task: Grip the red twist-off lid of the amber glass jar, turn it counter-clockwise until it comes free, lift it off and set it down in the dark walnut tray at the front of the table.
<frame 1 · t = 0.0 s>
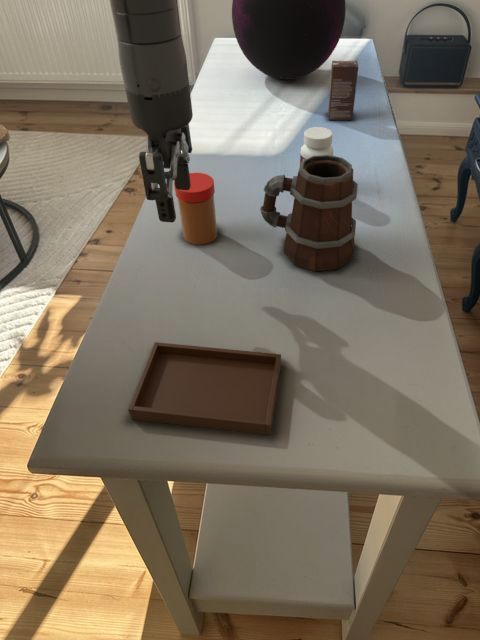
hand: (176, 204, 68), 13 cm above the table, tool pointing down, fingers open, 8 cm apart
box: (339, 117, 120), on the table
dark purple ball: (286, 77, 139), on the table
mug: (306, 250, 82), on the table
tray: (209, 390, 62), on the table
jar: (200, 234, 86), on the table
lid: (194, 184, 78), point 10 cm above the table, screwed on, not yet turned
pill bottle: (313, 190, 96), on the table
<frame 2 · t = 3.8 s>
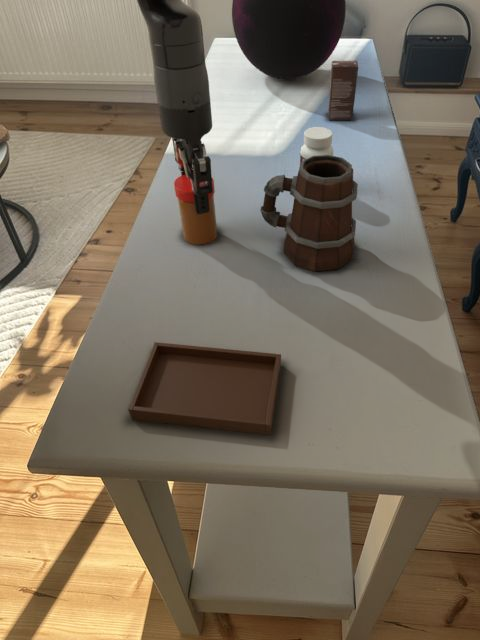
hand: (196, 201, 81), 7 cm above the table, tool pointing down, fingers closed on lid, 6 cm apart
lid: (194, 184, 78), point 10 cm above the table, screwed on, not yet turned, touching gripper
everything else where it was.
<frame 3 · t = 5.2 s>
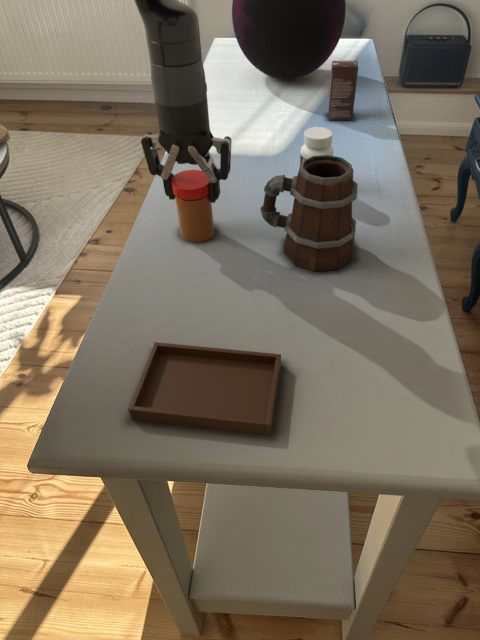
hand: (193, 198, 81), 7 cm above the table, tool pointing down, fingers closed on lid, 6 cm apart
lid: (191, 181, 79), point 10 cm above the table, turned 51° so far, risen 0.1 cm, still on its thread, touching gripper
everything else where it was.
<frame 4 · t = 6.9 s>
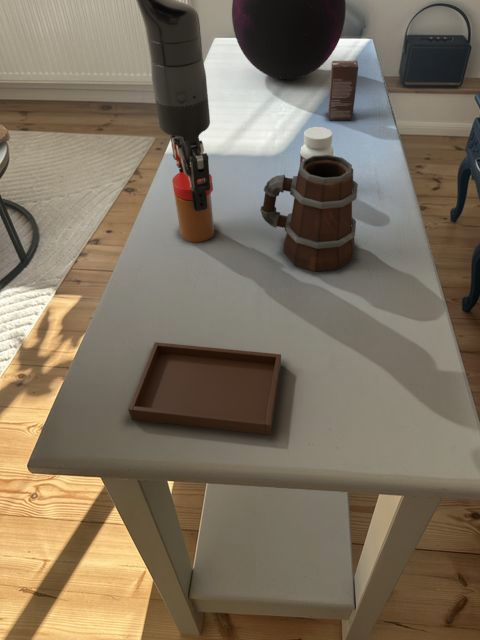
hand: (194, 198, 81), 7 cm above the table, tool pointing down, fingers closed on lid, 6 cm apart
jar: (197, 232, 86), on the table, touching gripper, lid
lid: (192, 181, 79), point 10 cm above the table, off its thread, touching gripper, jar
everything else where it was.
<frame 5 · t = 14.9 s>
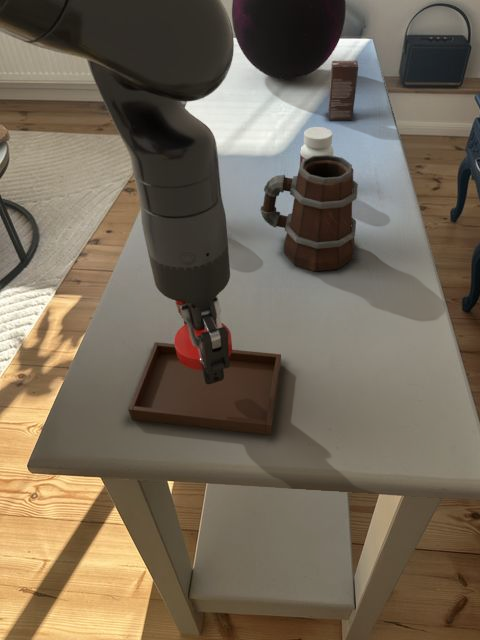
hand: (205, 358, 57), 6 cm above the table, tool pointing down, fingers closed on lid, 6 cm apart
jar: (197, 232, 86), on the table
lid: (203, 340, 55), point 10 cm above the table, off its thread, touching gripper
everything else where it was.
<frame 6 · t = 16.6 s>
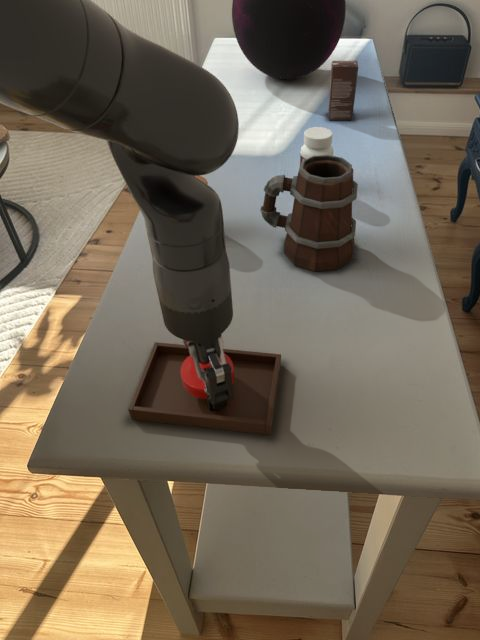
hand: (208, 386, 61), 1 cm above the table, tool pointing down, fingers closed on lid, 6 cm apart
lid: (207, 370, 59), point 4 cm above the table, off its thread, touching gripper
everything else where it was.
when the fingers open (2 cm above the table, at t = 26.2 s): lid drops 3 cm, resting on tray.
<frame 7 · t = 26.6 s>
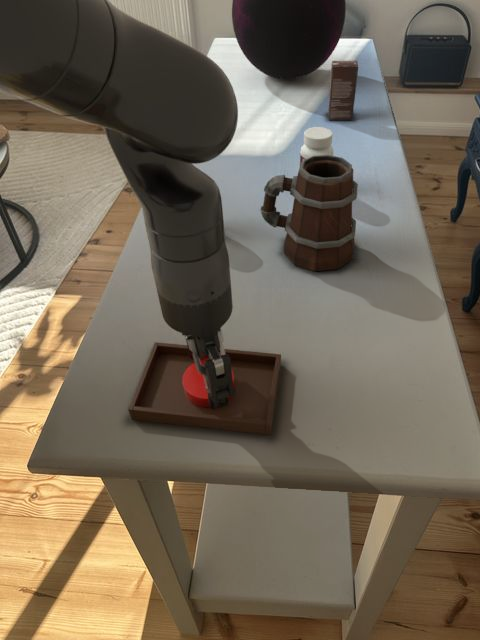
hand: (207, 379, 60), 2 cm above the table, tool pointing down, fingers open, 8 cm apart
lid: (208, 379, 61), point 2 cm above the table, off its thread, touching tray
everything else where it was.
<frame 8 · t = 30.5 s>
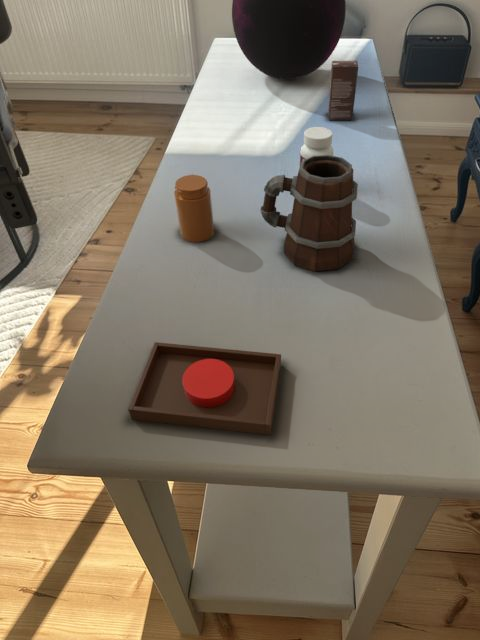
hand: (20, 198, 41), 28 cm above the table, tool pointing down, fingers open, 8 cm apart
nothing on the table moved.
at the end: lid inside the target area in the tray (0.1 cm from its centre), point 2.1 cm above the tray's base; the gripper is holding nothing; lid touching tray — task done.
